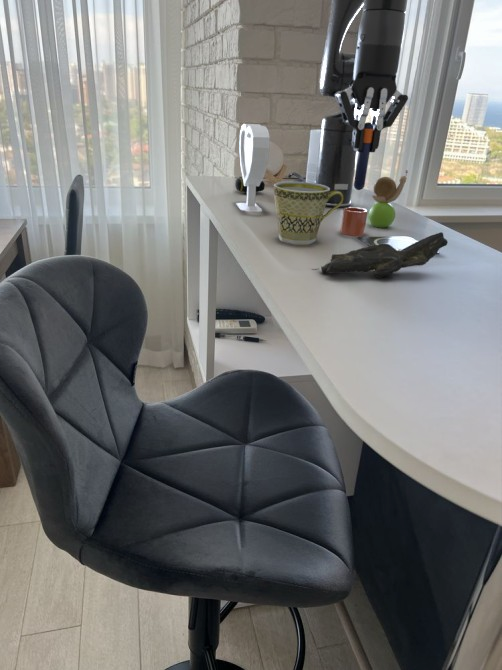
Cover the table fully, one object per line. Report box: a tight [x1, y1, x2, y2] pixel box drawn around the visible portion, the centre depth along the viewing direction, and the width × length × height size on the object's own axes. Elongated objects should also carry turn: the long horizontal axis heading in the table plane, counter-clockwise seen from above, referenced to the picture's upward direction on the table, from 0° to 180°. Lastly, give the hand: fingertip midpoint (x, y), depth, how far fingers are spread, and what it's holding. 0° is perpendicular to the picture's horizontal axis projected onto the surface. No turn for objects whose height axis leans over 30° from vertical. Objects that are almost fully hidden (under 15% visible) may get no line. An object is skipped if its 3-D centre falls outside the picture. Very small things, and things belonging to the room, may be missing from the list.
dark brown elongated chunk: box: [320, 231, 449, 279], centre depth 78 cm, size 6×6×20 cm
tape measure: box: [234, 176, 266, 195], centre depth 134 cm, size 7×7×4 cm
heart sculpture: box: [235, 123, 271, 213], centre depth 113 cm, size 16×5×18 cm, turn 11°
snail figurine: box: [367, 169, 409, 229], centre depth 104 cm, size 5×6×12 cm
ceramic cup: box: [273, 180, 343, 245], centre depth 92 cm, size 13×10×10 cm
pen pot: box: [340, 206, 369, 237], centre depth 99 cm, size 4×5×5 cm
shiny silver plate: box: [356, 235, 440, 255], centre depth 94 cm, size 11×11×1 cm
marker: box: [353, 121, 373, 191], centre depth 94 cm, size 2×2×12 cm
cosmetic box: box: [305, 129, 321, 183], centre depth 145 cm, size 8×7×16 cm
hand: (364, 151), depth 93 cm, fingers closed on marker, 2 cm apart
